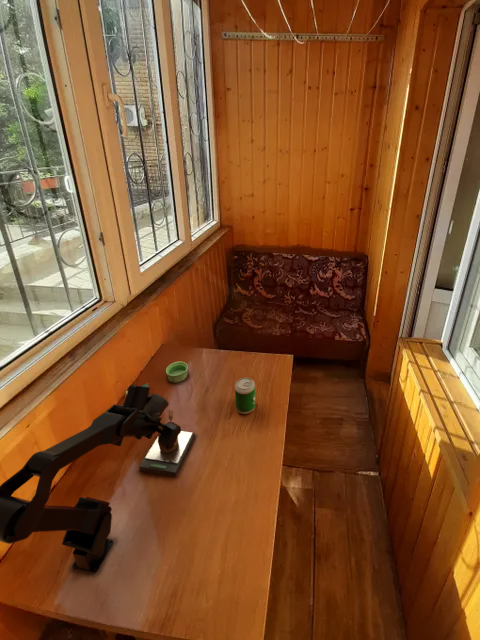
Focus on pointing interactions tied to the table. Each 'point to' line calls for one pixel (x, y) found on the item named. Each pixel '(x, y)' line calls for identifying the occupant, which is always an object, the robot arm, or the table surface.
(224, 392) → the table surface
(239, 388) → the soda can
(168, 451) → the utensil holder
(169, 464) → the kitchen scale
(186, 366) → the ramekin
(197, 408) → the table surface
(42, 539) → the table surface
